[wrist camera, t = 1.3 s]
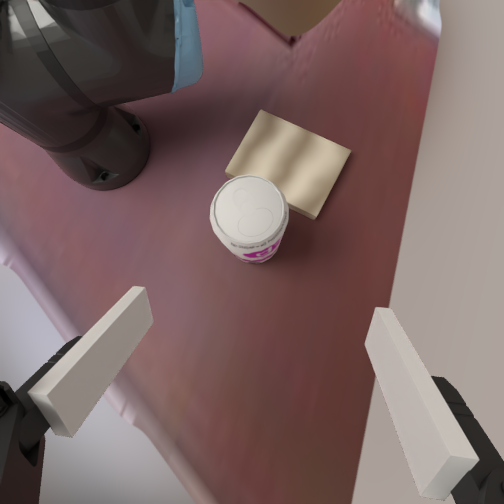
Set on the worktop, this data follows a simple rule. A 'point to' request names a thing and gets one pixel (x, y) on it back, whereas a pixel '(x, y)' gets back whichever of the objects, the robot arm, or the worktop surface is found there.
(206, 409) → the worktop surface
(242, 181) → the supplement can
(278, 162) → the birch board
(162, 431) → the worktop surface
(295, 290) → the worktop surface
